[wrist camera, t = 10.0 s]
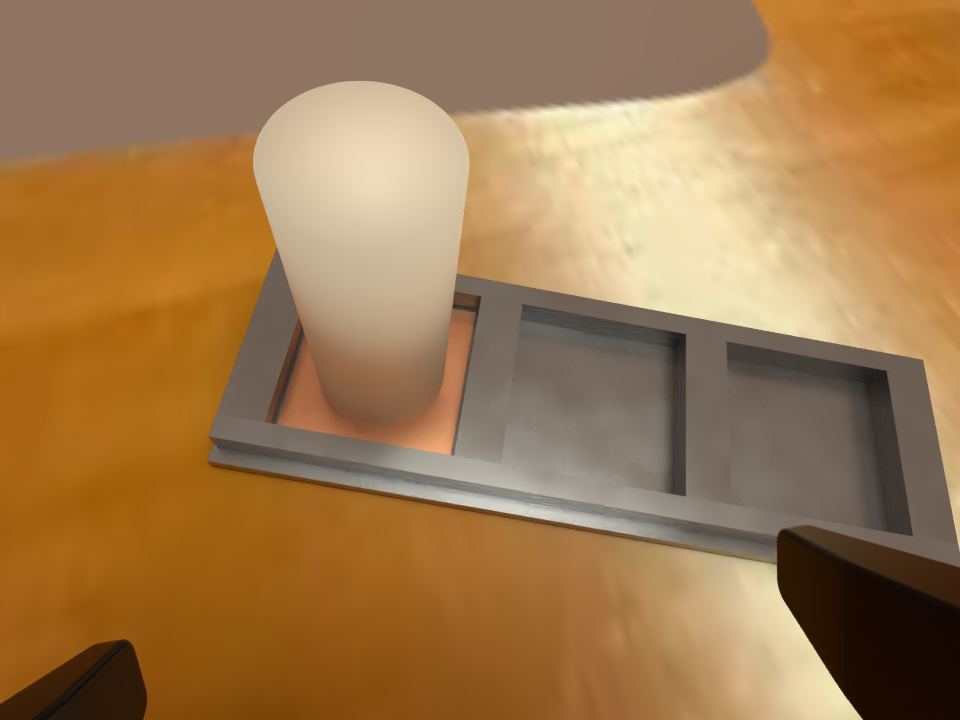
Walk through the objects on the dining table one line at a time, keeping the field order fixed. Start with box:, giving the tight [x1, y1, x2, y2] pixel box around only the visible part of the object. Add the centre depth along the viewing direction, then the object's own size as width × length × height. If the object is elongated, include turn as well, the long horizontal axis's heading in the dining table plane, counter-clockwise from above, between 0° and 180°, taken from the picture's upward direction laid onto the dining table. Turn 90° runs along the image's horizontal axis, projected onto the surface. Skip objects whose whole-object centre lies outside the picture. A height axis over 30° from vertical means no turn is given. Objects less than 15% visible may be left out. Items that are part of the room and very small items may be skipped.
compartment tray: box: [208, 249, 960, 567], centre depth 24 cm, size 26×9×2 cm, turn 82°
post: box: [253, 81, 470, 427], centre depth 19 cm, size 5×5×11 cm
